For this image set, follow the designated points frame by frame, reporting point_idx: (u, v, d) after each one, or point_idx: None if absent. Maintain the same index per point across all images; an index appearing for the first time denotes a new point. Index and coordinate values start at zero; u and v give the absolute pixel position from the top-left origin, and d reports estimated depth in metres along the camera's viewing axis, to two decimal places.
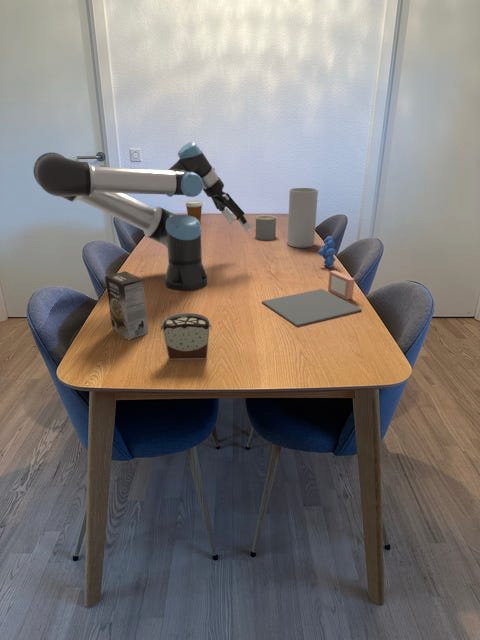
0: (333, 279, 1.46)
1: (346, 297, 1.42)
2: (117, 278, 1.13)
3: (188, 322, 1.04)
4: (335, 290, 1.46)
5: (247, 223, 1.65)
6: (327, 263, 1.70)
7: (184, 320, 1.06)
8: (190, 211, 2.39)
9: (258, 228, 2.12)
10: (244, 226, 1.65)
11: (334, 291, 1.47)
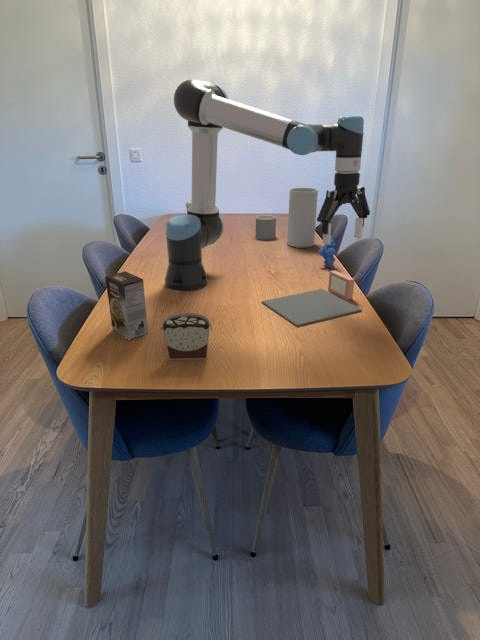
0: (333, 279, 1.46)
1: (346, 297, 1.42)
2: (117, 279, 1.13)
3: (188, 322, 1.04)
4: (335, 290, 1.46)
5: (327, 237, 1.36)
6: (327, 263, 1.70)
7: (184, 320, 1.06)
8: None
9: (258, 228, 2.12)
10: (323, 236, 1.37)
11: (334, 291, 1.47)
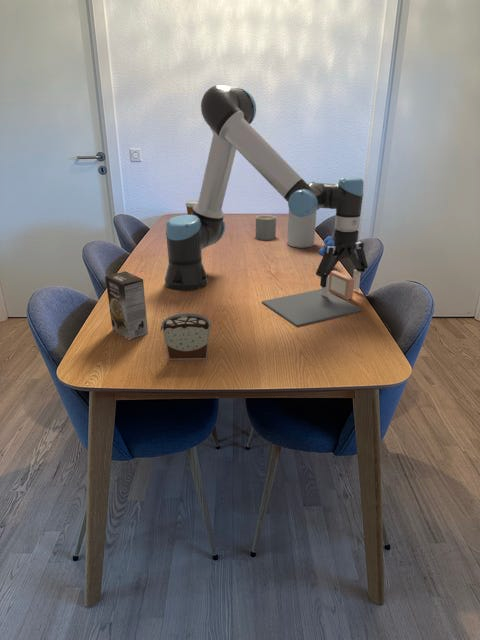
0: (333, 279, 1.46)
1: (346, 297, 1.42)
2: (117, 279, 1.13)
3: (188, 322, 1.04)
4: (335, 290, 1.46)
5: (325, 290, 1.41)
6: None
7: (184, 320, 1.06)
8: (190, 211, 2.39)
9: (258, 228, 2.12)
10: (322, 288, 1.43)
11: (334, 291, 1.47)
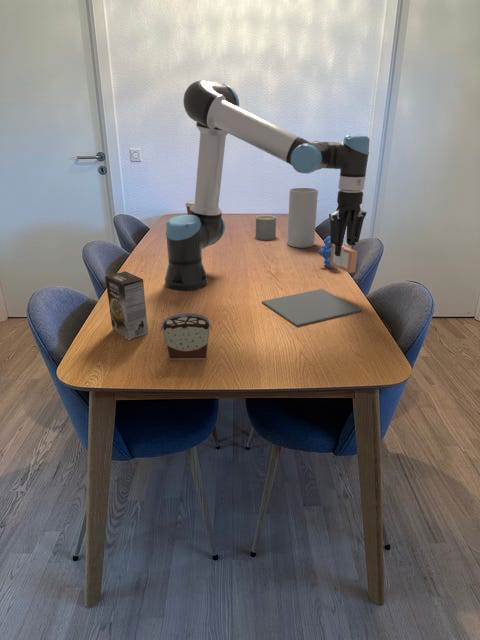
0: None
1: (349, 270, 1.38)
2: (117, 279, 1.13)
3: (188, 322, 1.04)
4: None
5: (339, 259, 1.39)
6: (327, 263, 1.70)
7: (184, 320, 1.06)
8: None
9: (258, 228, 2.12)
10: (336, 258, 1.41)
11: None
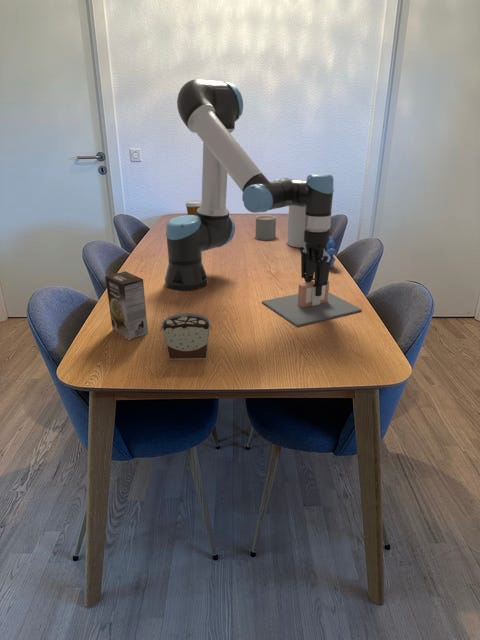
0: (309, 291, 1.34)
1: (326, 299, 1.38)
2: (117, 278, 1.13)
3: (188, 322, 1.04)
4: None
5: (319, 298, 1.35)
6: None
7: (184, 320, 1.06)
8: (190, 211, 2.39)
9: (258, 228, 2.12)
10: (314, 299, 1.34)
11: (311, 302, 1.36)
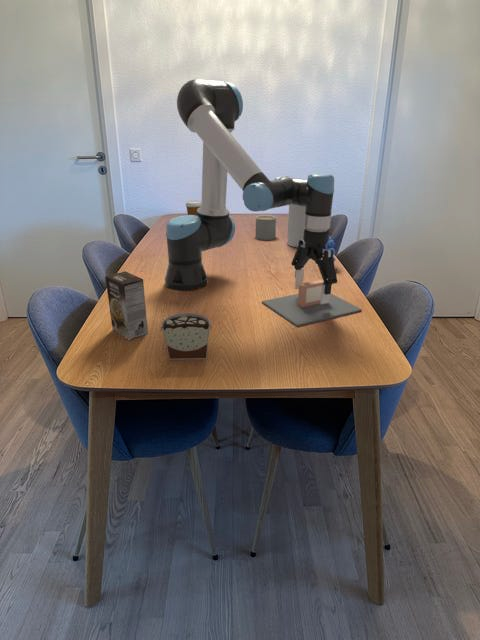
0: (309, 291, 1.34)
1: None
2: (117, 278, 1.13)
3: (188, 322, 1.04)
4: (312, 300, 1.36)
5: (327, 296, 1.30)
6: None
7: (184, 320, 1.06)
8: (190, 211, 2.39)
9: (258, 228, 2.12)
10: (323, 297, 1.30)
11: (311, 302, 1.36)
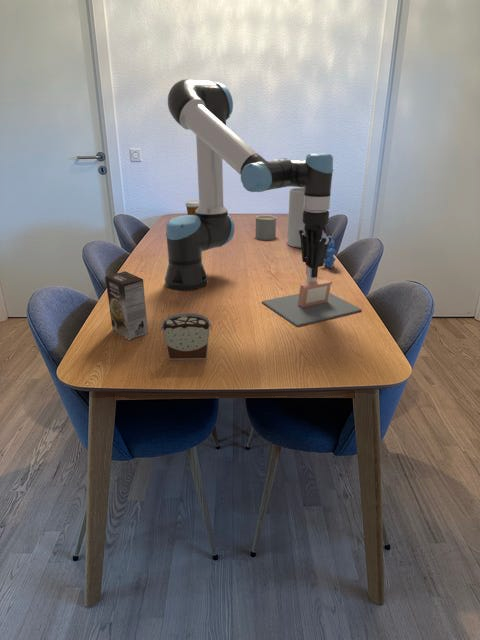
0: (310, 292, 1.33)
1: (326, 299, 1.38)
2: (117, 278, 1.13)
3: (188, 322, 1.04)
4: (312, 301, 1.36)
5: (314, 279, 1.35)
6: (327, 263, 1.70)
7: (184, 320, 1.06)
8: (190, 211, 2.39)
9: (258, 228, 2.12)
10: (310, 280, 1.34)
11: (311, 303, 1.36)
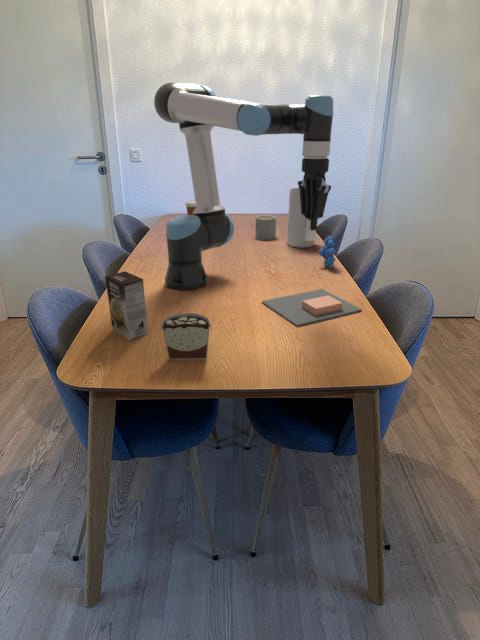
0: None
1: None
2: (117, 278, 1.13)
3: (188, 322, 1.04)
4: None
5: (314, 233, 1.30)
6: (327, 263, 1.70)
7: (184, 320, 1.06)
8: (190, 211, 2.39)
9: (258, 228, 2.12)
10: (309, 233, 1.30)
11: None
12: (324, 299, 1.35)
